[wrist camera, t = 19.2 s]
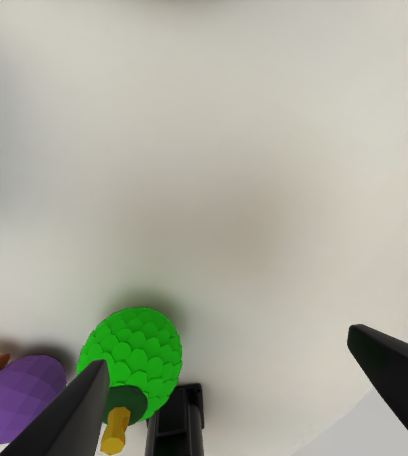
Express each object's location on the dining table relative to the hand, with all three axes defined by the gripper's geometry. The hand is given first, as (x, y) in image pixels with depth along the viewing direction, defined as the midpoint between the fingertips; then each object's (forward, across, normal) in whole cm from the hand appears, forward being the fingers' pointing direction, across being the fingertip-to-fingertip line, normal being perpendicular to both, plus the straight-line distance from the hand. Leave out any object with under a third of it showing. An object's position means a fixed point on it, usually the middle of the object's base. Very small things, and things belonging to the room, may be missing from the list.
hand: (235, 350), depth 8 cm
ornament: (+13, +6, +8) cm, 17 cm away
